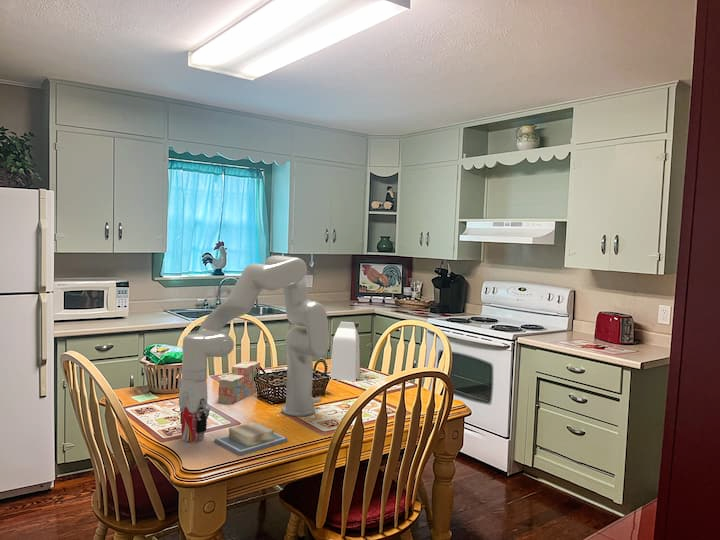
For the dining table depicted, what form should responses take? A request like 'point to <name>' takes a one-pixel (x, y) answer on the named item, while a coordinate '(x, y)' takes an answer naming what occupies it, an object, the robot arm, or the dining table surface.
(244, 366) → the stack of blocks
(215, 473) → the dining table surface
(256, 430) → the butter dish
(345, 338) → the milk
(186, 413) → the soda can
